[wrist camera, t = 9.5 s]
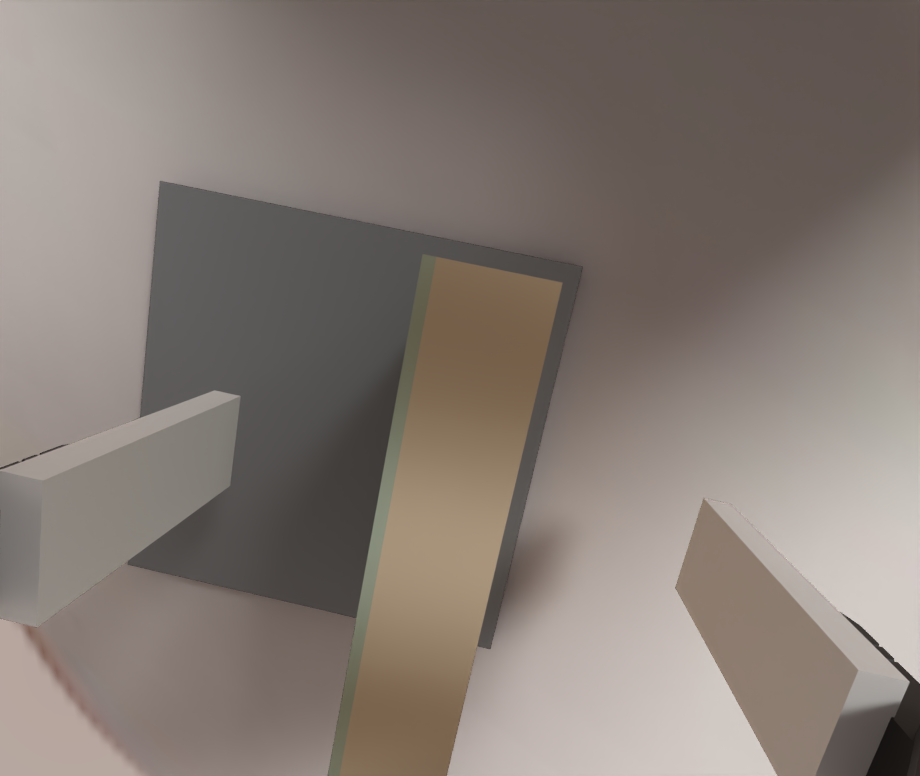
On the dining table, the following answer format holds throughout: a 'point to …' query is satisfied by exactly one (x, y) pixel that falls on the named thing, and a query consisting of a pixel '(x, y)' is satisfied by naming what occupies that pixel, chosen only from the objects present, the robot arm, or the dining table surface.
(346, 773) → the tile
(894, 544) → the dining table surface
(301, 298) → the mat
